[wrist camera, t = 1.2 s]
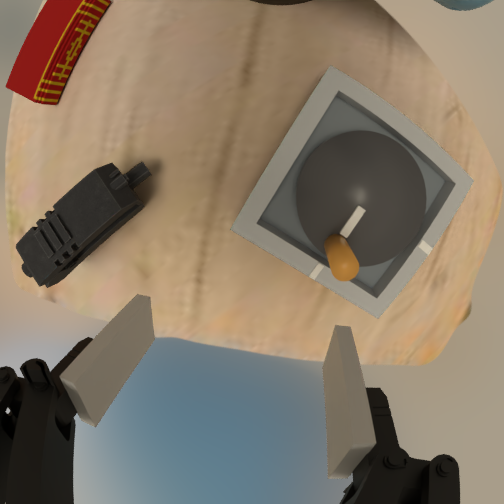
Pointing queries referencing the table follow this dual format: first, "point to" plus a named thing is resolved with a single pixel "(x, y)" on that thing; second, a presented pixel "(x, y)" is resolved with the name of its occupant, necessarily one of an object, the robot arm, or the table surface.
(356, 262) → the crank dial
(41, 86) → the book
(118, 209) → the tool
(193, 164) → the table surface
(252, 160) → the table surface
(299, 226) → the square crank box
